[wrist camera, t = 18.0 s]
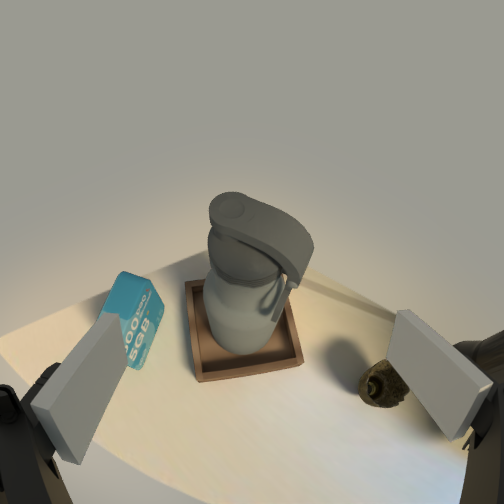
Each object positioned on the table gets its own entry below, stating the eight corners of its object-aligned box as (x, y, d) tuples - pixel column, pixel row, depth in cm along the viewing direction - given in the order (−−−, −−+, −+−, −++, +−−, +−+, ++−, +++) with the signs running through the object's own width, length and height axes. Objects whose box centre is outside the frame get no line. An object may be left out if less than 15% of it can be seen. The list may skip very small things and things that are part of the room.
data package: (141, 372, 42) (113, 357, 31) (117, 361, 42) (85, 344, 32) (166, 307, 48) (148, 275, 38) (143, 299, 48) (121, 266, 38)
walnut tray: (299, 365, 44) (304, 362, 41) (199, 382, 42) (196, 380, 39) (278, 278, 52) (281, 268, 49) (187, 290, 50) (184, 281, 47)
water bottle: (284, 314, 47) (334, 200, 24) (259, 367, 43) (293, 300, 19) (228, 289, 49) (225, 159, 25) (200, 338, 44) (161, 239, 21)
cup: (342, 375, 43) (361, 367, 36) (379, 362, 44) (402, 352, 38) (353, 416, 40) (374, 415, 33) (390, 401, 41) (415, 396, 34)
